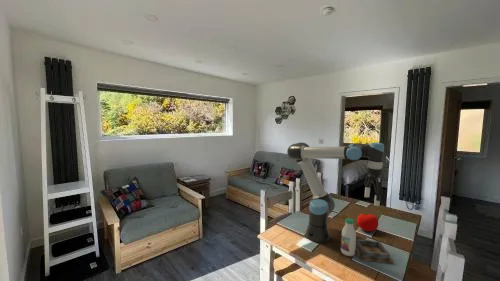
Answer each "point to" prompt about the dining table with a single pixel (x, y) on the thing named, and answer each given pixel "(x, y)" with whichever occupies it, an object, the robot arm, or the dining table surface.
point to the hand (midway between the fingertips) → (371, 201)
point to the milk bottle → (348, 238)
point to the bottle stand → (372, 251)
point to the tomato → (367, 222)
